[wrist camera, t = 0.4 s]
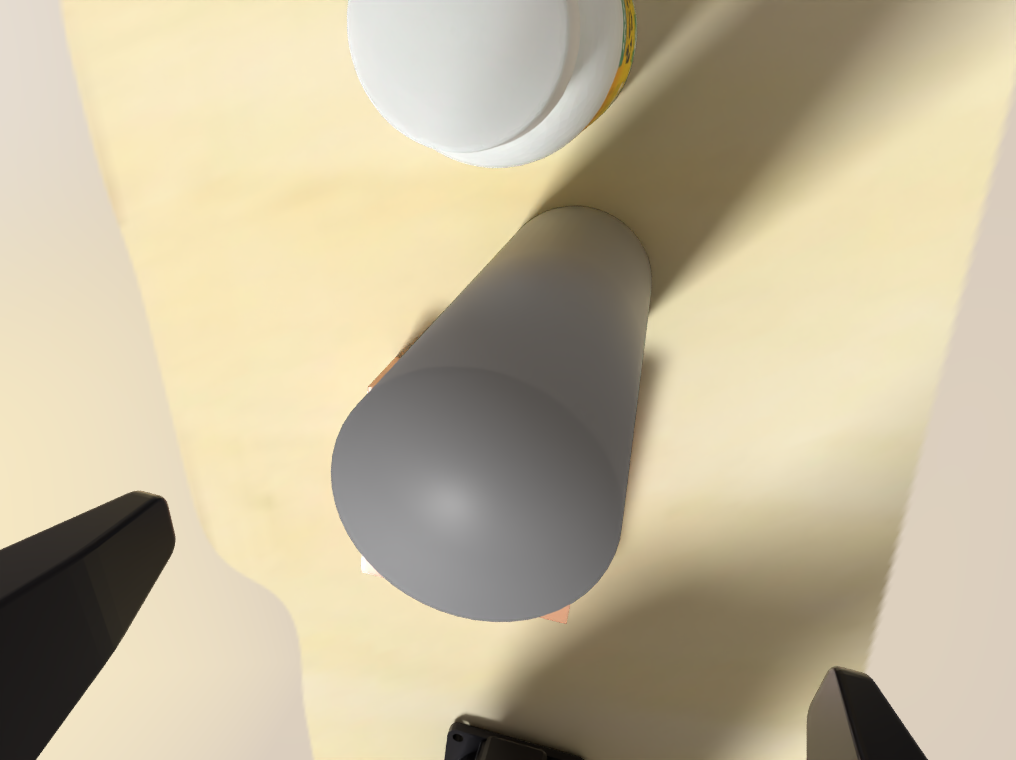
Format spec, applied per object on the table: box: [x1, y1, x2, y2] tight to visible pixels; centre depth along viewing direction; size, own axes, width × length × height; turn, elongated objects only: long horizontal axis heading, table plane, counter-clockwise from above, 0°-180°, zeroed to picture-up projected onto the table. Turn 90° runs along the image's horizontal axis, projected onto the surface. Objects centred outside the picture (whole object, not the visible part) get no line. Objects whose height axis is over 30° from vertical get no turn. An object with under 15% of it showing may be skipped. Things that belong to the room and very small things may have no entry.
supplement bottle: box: [347, 0, 637, 168], centre depth 16 cm, size 5×5×10 cm
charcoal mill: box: [331, 206, 652, 622], centre depth 18 cm, size 5×5×13 cm
